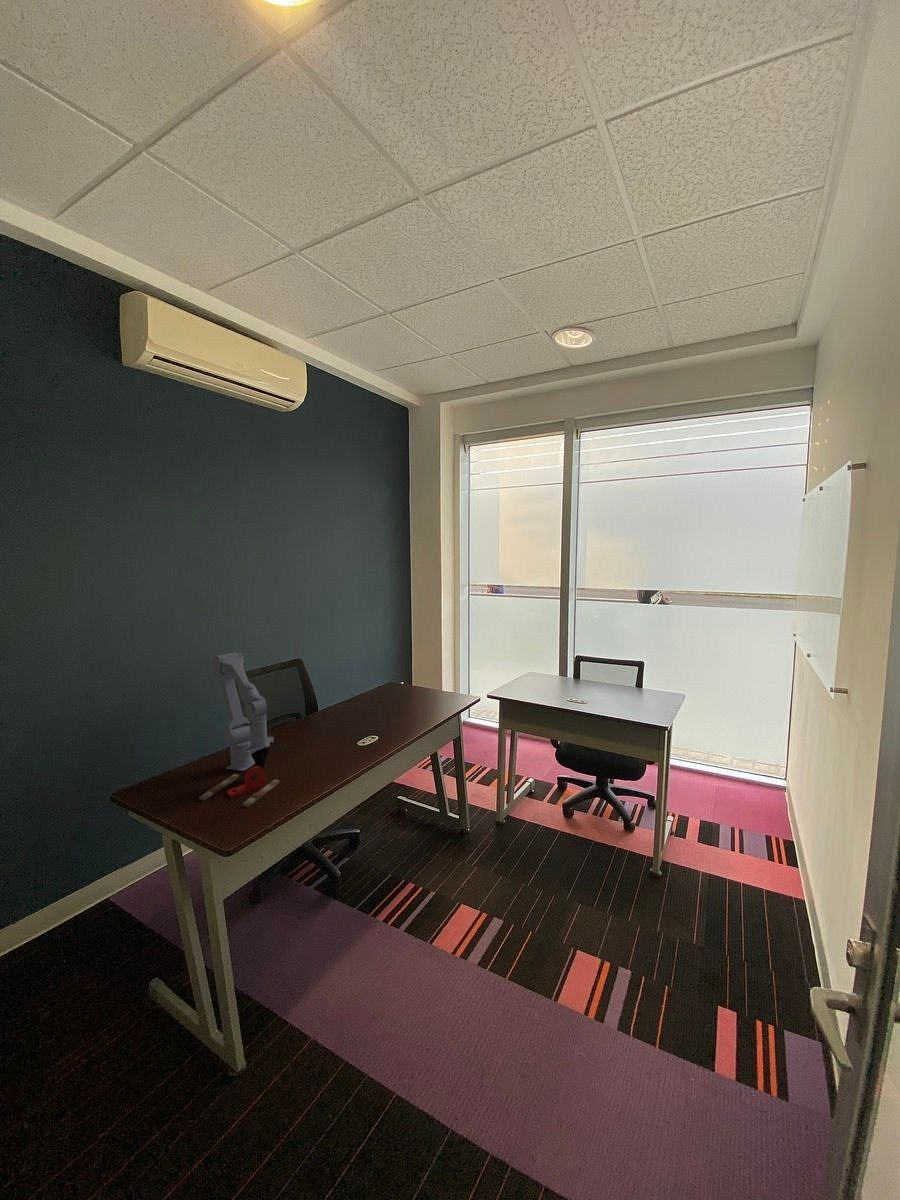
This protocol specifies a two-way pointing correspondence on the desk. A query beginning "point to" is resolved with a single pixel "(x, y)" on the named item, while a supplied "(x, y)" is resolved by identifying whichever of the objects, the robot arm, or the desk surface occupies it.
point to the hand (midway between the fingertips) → (260, 768)
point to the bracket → (249, 782)
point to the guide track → (231, 779)
